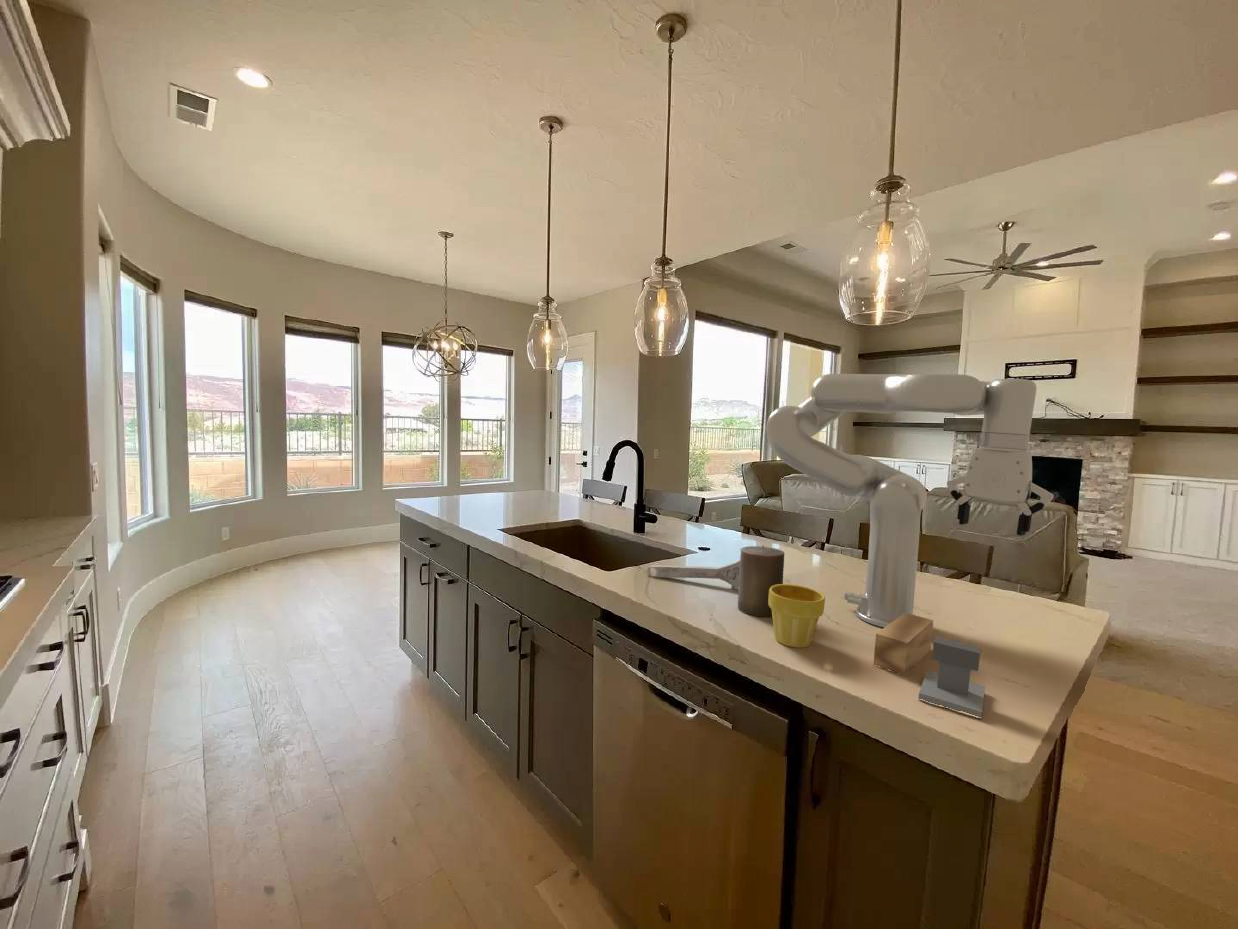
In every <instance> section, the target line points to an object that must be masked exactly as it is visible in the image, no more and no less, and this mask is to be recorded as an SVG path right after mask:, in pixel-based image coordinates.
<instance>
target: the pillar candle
mask: <svg viewBox="0 0 1238 929" xmlns="http://www.w3.org/2000/svg"><path fill="white" fill-rule="evenodd" d="M739 550H740V558H739V560H740V572H739V573H740V574H739V587H738V593H737V596H738V597H737V608H738V611H741V612H743V613H745V614H749V615H752V616H757V617H762V618H769V617H770V618H773V617H772V609H771V608H770V607H769V605H768V597H769V589H770V587H771V586H773V585H778V584H784V569H785V568H784V567H785V552H784V550H781V549H778V548H775V547H770V546H767V547H766V546H764V544H763V545H762V546H760V545H759V546H757V545H756V546H749V545H748V546H744V547H741V548H740V549H739Z"/></svg>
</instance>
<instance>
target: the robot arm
mask: <svg viewBox="0 0 1238 929" xmlns="http://www.w3.org/2000/svg"><path fill="white" fill-rule="evenodd" d="M1036 394H1037V385H1036V382H1034V381H1032V380H1030V379H1024V378H1001V379H1000V378H998V379H994V380H992V381H984V380H979V379H978V378H976V377H975V376H972V375H968V374H959V373H958V374H957V373H955V374H953V373H951V374H950V373H949V374H948V373H946V374H945V373H942V374H941V373H936V374H935V373H914V374H912V373H910V374H909V373H908V374H907V373H906V374H903V373H902V374H899V373H895V374H894V373H889V374H888V373H883V374H882V373H880V374H879V373H827V374H823V375H821V376H819V377H818V378H816V380H815V381H813V383H812V386H811V388H810V397H809V398H808V399H806V400H805V401H804V402H802V403H801V404H799V405H798V406H796V405H783V406H781V407H778V408H775V409H774V410H773V411H772V412H771V413H770V415H769V416H768V418H767V422H766V428H765V431H766V438H767V441H768V444H769V446H770V448H771V450H772V451H773V452H774V454H775V455H776V457H777V458H778V459H780V461H782V462H783V463H785V464H786V465H788V466H789V467H791V468H793V469H794V470H796V471H798V472H800V473H802V474H804V475H805V476H808V477H810V478H811V479H812V480H814V481H815V482H819V483H821V485H824V486H826V487H828V488H830V489H832V490H834V491H835V492H837V493H838V494H840V495H842V496H845V497H860V498H863V499H864V500H866V501H869V502H870V503H869V505H870V506H869V519H870V520H869V523H870V524H869V537H868V538H869V542H868V555H867V557H868V558H867V566H866V567H867V568H866V570H867V571H866V579H865V580H866V581H865V590H864V591H865V592H864V593H860V594H856V593H854V592H849V591H845V593H844V598H843V599H844V600H845V601H847V603H849V604H852V605H857V606H858V607H857V608H856V610H855V611H856V613H855V614H856V616H857V617H858V618H859V619H860V620H862V621H864V622H865V623H868V624H871V625H873V626H877V627H881V628H884V627H886V626H887V625H889V624H890V623H891V622H893V621H894V620H895V619H897V618H898V617H900V616H901V615H902V614H904V613H908V614H911V615H915V614H914V603H915V593H916V592H915V591H916V590H915V589H916V578H917V569H918V568H917V567H918V558H919V557H918V556H919V547H920V546H919V544H920V527H921V514H922V510H923V509H924V508H925V506H926V504H927V501H928V493H927V490H926V487H925V485H923V483H922V482H921V481H919V480H918V479H917V478H915V477H914V476H912V475H909V474H907V473H905V472H903V471H901V470H898V469H896V468H894V467H891V466H890V465H887V464H886V463H883V462H881V461H879V460H876V459H874V458H872V457H869V456H867V455H863V454H849V453H846V452H843V451H841V450H839V449H836V448H834V447H832V446H830V445H828V444H826V443H824V442H823V441H820V440H817V439H815V438H813V437H814V436H816V435H817V434H818V433H819V432H821V431H823V430H824V429H825V428H826V427H827V426H829V425H830V424H832V423H833V422H834V421H836V420H837V419H839V417H841V416H842V415H844V414H845V413H846V412H848V413H849V412H852V413H870V414H893V413H899V412H900V413H901V412H918V413H919V412H920V413H921V412H922V413H925V412H926V413H941V414H953V415H957V416H977V415H983V419H982V428H981V432H980V434H977V435H972V439H971V440H972V443H973V442H974V443H977V444H978V446H979V448H978V447H977V448H975V447H974V448H973V449H972V450H973V451H972V453H971V456H970V460H969V462H968V466H967V470H966V473H965V475H964V476H960V477H957V478H953V479H951V480H948V481H947V482H946V485H947V487H948V489H949V492H950V495H951V496H952V498H953V499H954V500H955V501H956V504H958V509H957V510H958V511H957V516H956V518H957V520H959V522H958V525H961V526H962V525H966V524H969V519H970V514H971V513H970V512H971V504H969V503H970V502H971V501H972V500H974V499H978V500H985V501H993V502H999V503H1004V504H1005V503H1006V504H1015V505H1016V506H1017V507H1018V508H1019V510H1020V511H1021V514H1019V516H1018V523H1017V528H1016V535H1017V536H1020V537H1022V536H1025V535H1026V532H1027V533H1029V532H1030V530H1031V523H1032V518H1033V515H1035V514H1036V513H1038V512H1040V511H1041V510H1044V508H1046V507H1047V505H1048V504H1049V503H1051V501H1052V500H1053V499H1054V496H1055V494H1053V493H1051V492H1049V491H1048V490H1046V489H1044V488H1042V487H1041V486H1039V485H1037V484H1035V483H1033V460H1032V459H1033V458H1032V453H1031V452H1028V449H1029V448H1028V447H1029V442H1030V435H1031V428H1032V421H1033V414H1034V406H1035V401H1036ZM961 484H962V485H963V494H962V493H961V491H960V490H959V488H958V486H959V485H961ZM1031 493H1034V494H1035V495H1037V496H1039V497H1040V499H1039V500H1038V502H1036V503H1034V504H1033V505H1031V504H1030V502H1029V500H1030V498H1031Z"/></svg>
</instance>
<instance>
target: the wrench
mask: <svg viewBox="0 0 1238 929" xmlns="http://www.w3.org/2000/svg"><path fill="white" fill-rule="evenodd" d="M651 568H653V569H655V571H656V574H654V573H652V572H651ZM739 572H740V559H739V560H737V561H735V562H734V561H733V562H732V563H730V564H726V565H723V566H719V567H718V566H714V567H713V566H691V565H690V566H687V565H685V566H684V565H665V564H664V565H662V564H661V565H659V564H658V565H656V564H652V565H650V566H649V567H648V568H647V570H646V573H647V575H648V576H649V577H651V578H675V579H677V578H678V579H679V578H680V579H681V578H682V579H711V580H712V579H714V580H715V579H716V580H721V581H723V582H726V583H727V584H729V585H730V588H731V589H733V590H735V591H737V590H739V574H740V573H739Z"/></svg>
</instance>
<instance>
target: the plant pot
mask: <svg viewBox="0 0 1238 929" xmlns="http://www.w3.org/2000/svg"><path fill="white" fill-rule="evenodd" d="M825 602H826V596H825V595H824V594H823V593H822V592H821V591H819V590H817V589H814V588H812V587H809V586H804V585H798V584H792V583H791V584H789V583H783V584H778V585H773V586H771V587H770V589H769V597H768V605H769V607H770V608H771V609H772V617H771V618H772V623H773V624H772V625H773V631H774V638H775V640H776V641H777V642H778V643H780V644H782V645H784V646H788V647H792V648H807V647H809V646H811V643H812V641H813V637H814V634H815V631H816V627H817V624H818V622H819V618H820V617H821V616H823V615H824V611H825V604H826V603H825Z"/></svg>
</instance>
